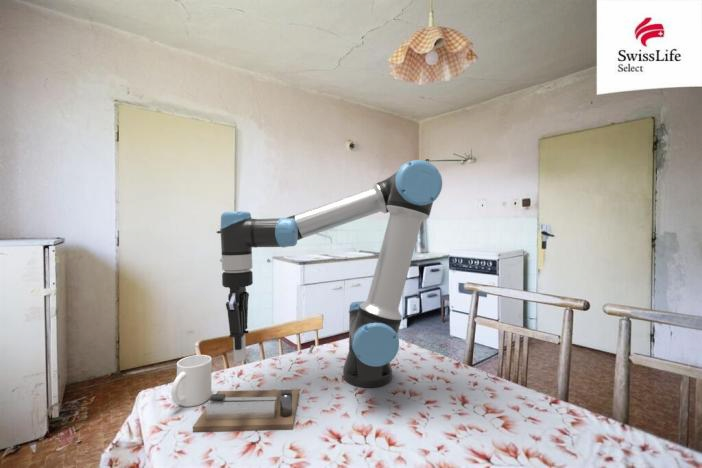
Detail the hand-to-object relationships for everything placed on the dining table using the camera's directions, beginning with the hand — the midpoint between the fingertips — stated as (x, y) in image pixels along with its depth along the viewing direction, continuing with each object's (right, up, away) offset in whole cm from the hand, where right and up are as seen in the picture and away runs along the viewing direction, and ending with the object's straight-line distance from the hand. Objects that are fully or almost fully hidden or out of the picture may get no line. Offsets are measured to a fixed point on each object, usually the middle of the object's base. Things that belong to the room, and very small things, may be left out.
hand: (239, 360), depth 86 cm
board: (+4, -11, -5) cm, 13 cm away
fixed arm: (+5, -10, -9) cm, 14 cm away
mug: (-13, -11, -1) cm, 17 cm away
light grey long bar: (+3, -9, -7) cm, 12 cm away
